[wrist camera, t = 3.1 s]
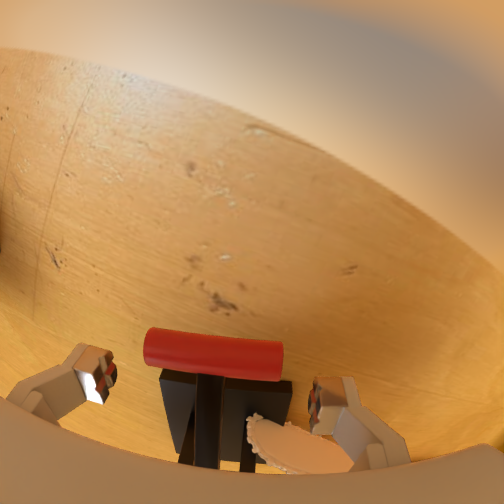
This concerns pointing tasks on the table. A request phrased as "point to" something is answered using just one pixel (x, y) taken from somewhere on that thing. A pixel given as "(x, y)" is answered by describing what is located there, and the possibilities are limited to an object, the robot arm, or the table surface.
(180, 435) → the press bracket
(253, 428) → the chainsaw
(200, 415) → the press lever
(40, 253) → the table surface
